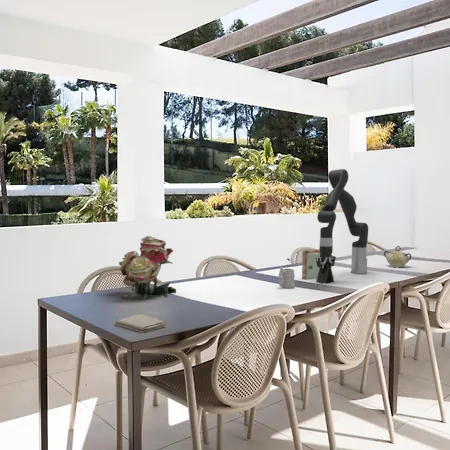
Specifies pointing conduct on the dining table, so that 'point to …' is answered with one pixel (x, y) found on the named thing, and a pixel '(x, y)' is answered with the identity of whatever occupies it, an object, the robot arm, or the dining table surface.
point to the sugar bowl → (397, 258)
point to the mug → (286, 278)
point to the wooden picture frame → (304, 261)
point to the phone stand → (326, 274)
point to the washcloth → (141, 323)
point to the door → (312, 266)
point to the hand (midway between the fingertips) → (325, 274)
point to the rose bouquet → (146, 270)
